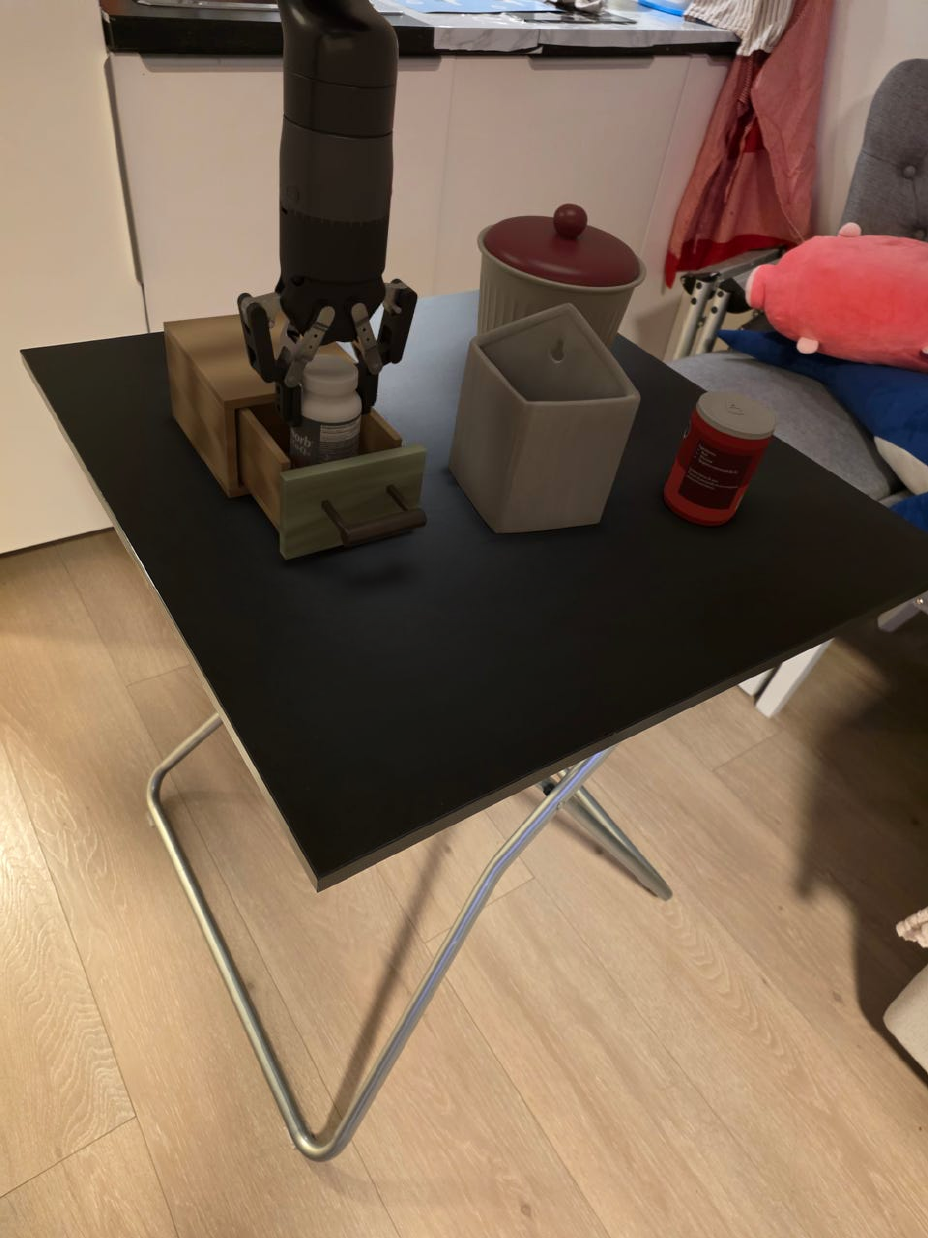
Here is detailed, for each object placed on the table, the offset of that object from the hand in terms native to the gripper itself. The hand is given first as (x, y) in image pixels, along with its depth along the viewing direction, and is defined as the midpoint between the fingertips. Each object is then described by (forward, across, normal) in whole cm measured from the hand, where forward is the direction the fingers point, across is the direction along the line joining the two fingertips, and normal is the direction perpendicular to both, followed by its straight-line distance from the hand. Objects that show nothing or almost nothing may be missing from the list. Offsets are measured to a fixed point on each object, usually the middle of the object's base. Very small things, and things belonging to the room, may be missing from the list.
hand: (326, 415), depth 66 cm
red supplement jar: (+10, -36, +13) cm, 40 cm away
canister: (+10, -33, -12) cm, 36 cm away
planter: (+10, -17, +6) cm, 21 cm away
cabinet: (+10, 0, -12) cm, 16 cm away
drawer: (+9, 0, +2) cm, 9 cm away
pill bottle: (+6, 0, 0) cm, 6 cm away
